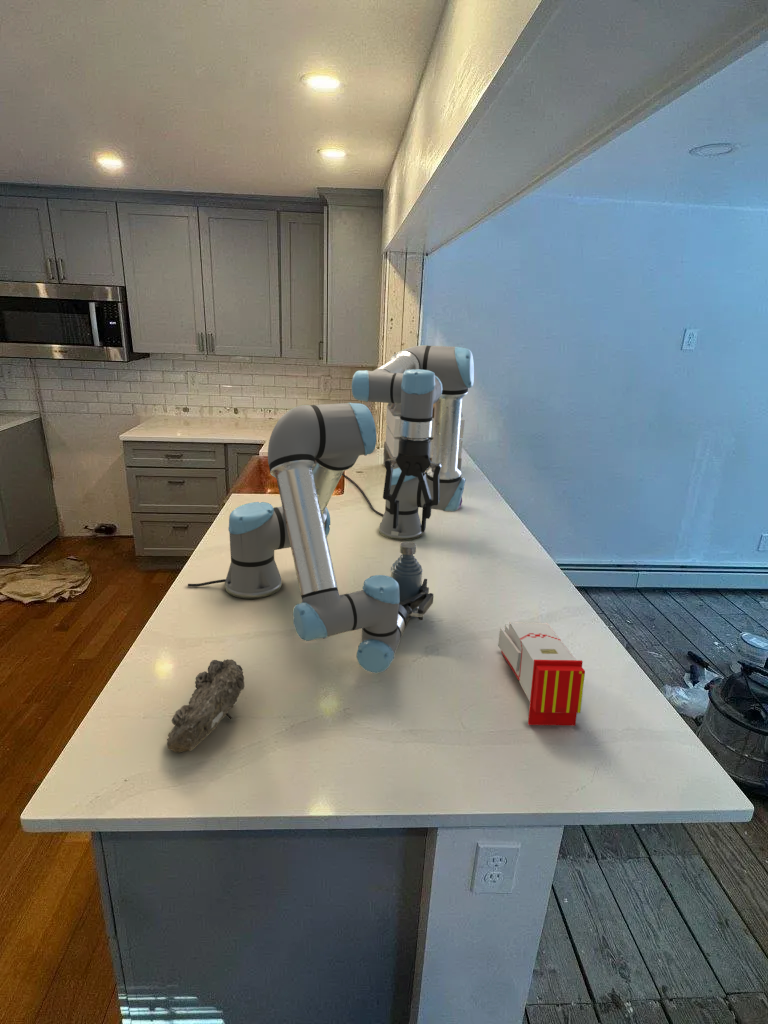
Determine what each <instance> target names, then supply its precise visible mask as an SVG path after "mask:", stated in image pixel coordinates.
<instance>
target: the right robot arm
mask: <svg viewBox="0 0 768 1024" xmlns="http://www.w3.org/2000/svg"><path fill="white" fill-rule="evenodd" d="M474 363H475V361H474V356H473V352H472V351H471V350H470V349H469V348H467V347H460V346H449V345H447V346H445V345H428V344H424V345H423V344H422V345H420V344H419V345H415V346H414V345H413V346H411V347H406V348H403V349H401V350H399V351H397V352H396V353H394V354H393V355H392V356H391V357H390V358H389V360H388V361H387V362H385V363H383V364H382V365H380V366H379V367H377V368H375V369H373V370H367V369H365V370H356V371H355V372H354V374H353V375H352V380H351V394H352V397H353V399H355V400H356V401H362V402H366V403H368V402H370V403H384V404H388V403H394V404H401V415H400V429H399V435H400V436H401V437H400V438H399V449H398V456H397V458H396V459H390V458H389V459H387V460H386V462H385V466H384V467H385V478H384V485H383V492H382V493H383V494H382V499H383V500H385V504H384V505H385V507H384V508H385V509H384V513H381V512H379V511H378V510H376V509H375V508H374V507H373V505H372V503H371V501H370V500H369V498H368V496H367V495H366V494H365V492H364V491H363V489H362V488H361V487H360V486H359V485H358V484H357V483H356V482H355V481H354V480H352V479H351V478H350V477H349V476H347V475H346V474H344V473H343V474H342V476H343V477H344V478H346V479H347V480H348V481H350V482H351V483H352V484H353V485H354V486H355V487H356V488H357V489H358V490H359V491H360V493H361V494H362V496H363V497H364V498H365V500H366V502H367V503H368V505H369V508H371V510H372V511H373V512H374V513H376V514H377V515H380V516H381V517H382V519H381V522H379V526H378V533H379V534H380V535H381V536H382V537H385V538H387V539H389V540H395V541H410V540H415V539H418V538H420V537H421V536H422V535H423V533H425V531H426V529H427V520H430V518H431V516H432V510H437V511H443V512H456V511H457V509H458V508H459V505H460V501H461V497H462V498H463V493H464V489H465V484H466V478H465V477H462V470H461V471H460V470H459V469H458V468H457V463H458V450H459V436H460V423H461V418H462V417H461V412H462V409H463V408H462V407H463V398H464V397H465V396H466V395H467V394H468V392H469V389H470V388H473V386H474V383H475V364H474ZM433 404H435V410H434V428H433V446H432V462H431V459H430V444H431V440H430V439H429V437H431V430H432V413H433ZM396 463H397V465H398V466H399V468H396V469H393V468H394V467H395V464H396ZM419 508H422V510H421V518H420V515H419ZM459 509H460V508H459ZM459 509H458V510H459Z"/></svg>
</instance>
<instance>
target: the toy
mask: <svg viewBox="0 0 768 1024" xmlns="http://www.w3.org/2000/svg"><path fill="white" fill-rule="evenodd" d="M498 636H499V637H498V642H497V646H498V647H499V649H500V653H501V654H502V656H503V657H504V659H505V661H506V663H507V664H508V665H509V667H510V669H511V671H512V672H513V674H514V676H515V677H516V679H517V680H518V681H519V684H520V686H521V688H522V690H523V692H524V694H525V696H526V698H527V700H528V701H529V710H528V719H527V724H528V726H573V727H575V726H576V724H577V723H576V722H577V715H578V714H581V710H582V709H581V708H582V701H583V692H584V683H585V674H586V670H585V669H584V668H583V662H584V661H583V660H581V659H580V660H578V659H576V657H575V656H574V655H573V654H572V653H571V651H570V650H569V648H568V647H567V645H565V644H564V642H563V641H562V640H561V638H560V637H559V636H558V635H557V633H556V631H555V630H554V629H553V628H552V627H551V626H550V624H549V622H527V621H526V622H525V621H523V622H521V621H509V624H504V628H503V627H500V628H499V634H498Z"/></svg>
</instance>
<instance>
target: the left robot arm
mask: <svg viewBox="0 0 768 1024" xmlns="http://www.w3.org/2000/svg"><path fill="white" fill-rule="evenodd" d="M376 446H377V427H376V423H375V419H374V417H373V414H372V412H371V410H370V409H369V407H368V406H367V405H366V404H363V403H358V402H344V403H343V402H342V403H341V402H340V403H325V404H323V403H322V404H301V405H297V406H295V407H292V408H290V409H289V410H287V411H286V412H285V413H283V415H282V416H281V417H279V419H278V420H277V422H276V423H275V425H274V427H273V430H272V431H271V434H270V437H269V439H268V446H267V463H268V468H269V474H270V475H271V476H272V477H274V478H275V479H276V483H277V487H278V493H279V498H280V502H281V506H275V507H274V506H273V505H272V503H269V502H265V501H261V502H259V501H254V502H248V503H244V504H242V505H239V506H237V507H236V508H234V509H233V510H232V511H231V512H230V513H229V516H228V518H229V519H228V527H227V528H228V533H229V550H230V551H229V552H230V564H229V568H228V571H227V573H226V578H224V579H217V580H210V581H205V582H200V583H187V587H192V588H193V587H204V586H208V585H214V584H220V583H221V584H222V583H224V585H225V592H227V594H228V595H230V596H232V597H235V598H238V599H245V600H254V599H262V598H267V597H269V596H273V595H275V593H277V592H279V590H281V588H282V577H281V574H280V571H279V568H278V566H277V563H276V560H275V551H278V550H282V549H291V554H292V559H293V564H294V568H295V573H296V576H297V577H296V578H297V579H296V580H297V583H298V588H299V592H300V597H301V602H300V603H297V604H296V605H294V607H293V610H292V616H293V626H294V629H295V633H296V634H297V636H298V637H299V638H300V639H301V640H302V641H306V642H309V641H314V640H320V639H327V637H328V638H329V637H333V636H336V635H339V634H343V633H347V632H352V631H356V630H361V641H360V643H359V645H358V647H357V651H356V660H357V663H358V664H359V666H360V667H361V668H362V669H363V670H365V671H366V672H369V673H372V674H379V673H383V672H385V671H386V670H387V669H389V668H390V667H391V664H392V662H393V661H394V659H395V654H396V652H397V650H398V647H399V645H400V643H401V639H402V637H403V635H404V632H405V630H406V628H407V625H408V622H409V620H410V619H413V618H415V617H416V618H417V619H418V621H423V620H424V615H425V614H426V613H427V611H428V610H429V609H430V607H431V606H432V605H433V603H434V595H435V594H434V593H432V592H430V588H429V586H428V578H424V579H423V580H422V586H421V588H420V593H419V594H417V595H416V596H414V597H412V598H411V599H406V600H405V601H403V602H402V601H400V592H399V584H398V582H397V581H396V580H394V579H393V578H392V577H390V576H389V575H384V574H375V575H370V576H369V577H367V578H365V580H364V581H363V585H362V589H361V590H357V591H353V592H347V593H343V594H340V591H339V587H338V583H337V577H336V574H335V573H336V572H335V569H334V563H333V560H332V555H331V551H330V547H329V541H328V536H329V534H330V530H331V527H330V526H331V515H330V511H329V509H328V507H327V506H328V504H329V502H330V500H331V498H332V496H333V494H334V492H335V490H336V488H337V486H338V484H339V482H340V481H341V478H342V476H343V475H342V474H344V472H345V471H348V470H349V469H351V468H353V466H354V465H355V464H356V462H357V461H358V458H359V456H363V457H364V456H365V457H366V456H368V455H371V454H372V453H373V452H374V451H375V450H376ZM418 606H419V607H418ZM416 607H417V609H416V610H415V611H412V610H413V609H415V608H416ZM412 616H414V617H413V618H412Z"/></svg>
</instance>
